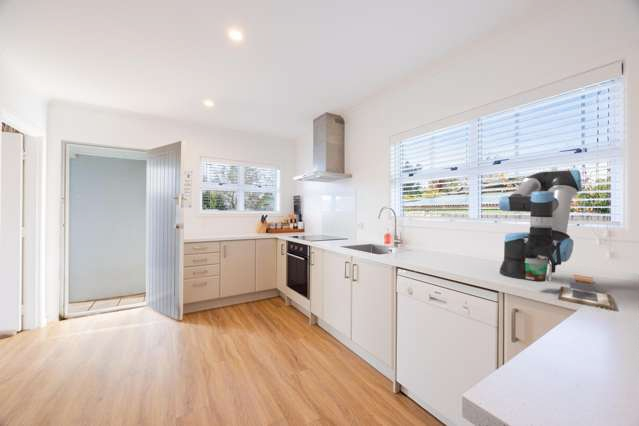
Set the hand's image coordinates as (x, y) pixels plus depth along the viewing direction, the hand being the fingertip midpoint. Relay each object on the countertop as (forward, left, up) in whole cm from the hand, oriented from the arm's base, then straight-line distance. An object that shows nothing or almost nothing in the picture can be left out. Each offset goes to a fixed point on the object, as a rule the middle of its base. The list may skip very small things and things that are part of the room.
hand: (538, 277), depth 115 cm
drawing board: (+14, +1, -6) cm, 16 cm away
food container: (0, 0, -1) cm, 1 cm away
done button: (+14, +19, -4) cm, 24 cm away
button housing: (+14, +19, -6) cm, 25 cm away
